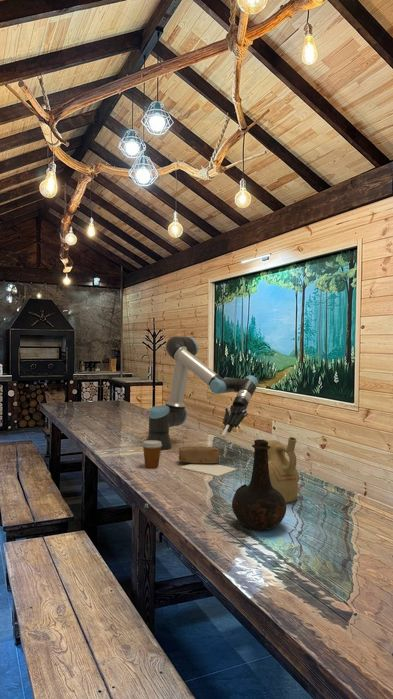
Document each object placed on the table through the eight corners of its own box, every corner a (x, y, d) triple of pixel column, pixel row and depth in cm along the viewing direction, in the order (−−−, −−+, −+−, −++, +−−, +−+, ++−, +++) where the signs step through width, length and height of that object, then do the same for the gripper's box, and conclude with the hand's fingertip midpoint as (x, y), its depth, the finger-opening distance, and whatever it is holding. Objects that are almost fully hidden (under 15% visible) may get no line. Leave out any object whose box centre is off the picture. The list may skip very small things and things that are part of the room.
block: (219, 448, 221) (178, 447, 221) (219, 464, 220) (178, 463, 220) (218, 445, 232) (179, 444, 232) (218, 460, 231) (179, 459, 231)
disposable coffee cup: (160, 469, 213) (161, 444, 212) (140, 469, 213) (141, 443, 213) (162, 464, 222) (163, 440, 222) (143, 464, 222) (143, 439, 222)
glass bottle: (250, 511, 161) (252, 432, 161) (295, 524, 150) (297, 440, 149) (220, 525, 147) (222, 439, 147) (268, 541, 136) (270, 448, 136)
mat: (180, 468, 216) (180, 467, 216) (200, 462, 229) (200, 460, 229) (218, 477, 203) (218, 475, 203) (237, 469, 215) (237, 468, 215)
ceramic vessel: (284, 488, 188) (285, 428, 188) (312, 504, 170) (314, 437, 170) (247, 492, 182) (249, 430, 182) (273, 509, 164) (274, 440, 163)
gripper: (228, 394, 239) (210, 430, 225) (250, 396, 231) (232, 434, 218) (234, 404, 243) (215, 439, 230) (255, 406, 235) (237, 443, 222)
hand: (223, 436), depth 224 cm, fingers closed
